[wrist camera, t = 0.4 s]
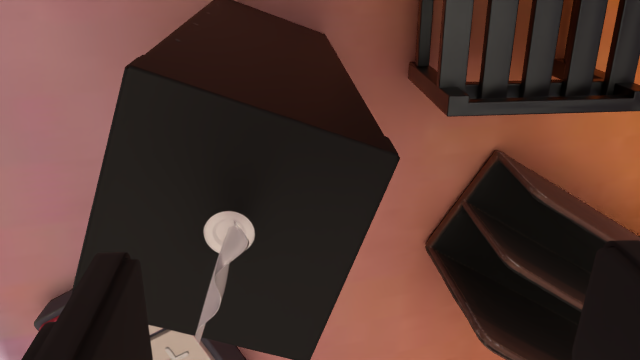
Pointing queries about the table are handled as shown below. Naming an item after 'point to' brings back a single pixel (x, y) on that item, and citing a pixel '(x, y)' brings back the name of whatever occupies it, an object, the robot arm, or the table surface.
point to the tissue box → (240, 180)
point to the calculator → (158, 339)
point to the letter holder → (520, 259)
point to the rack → (530, 60)
